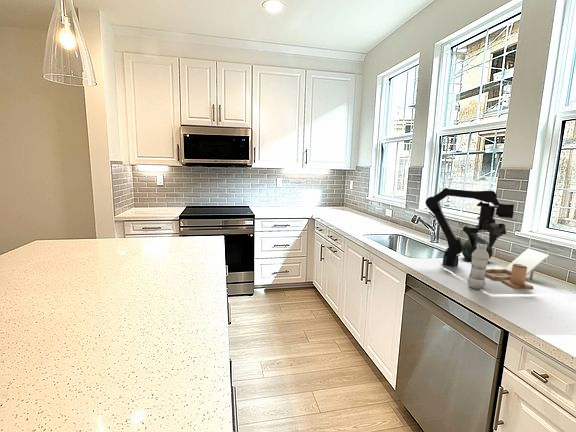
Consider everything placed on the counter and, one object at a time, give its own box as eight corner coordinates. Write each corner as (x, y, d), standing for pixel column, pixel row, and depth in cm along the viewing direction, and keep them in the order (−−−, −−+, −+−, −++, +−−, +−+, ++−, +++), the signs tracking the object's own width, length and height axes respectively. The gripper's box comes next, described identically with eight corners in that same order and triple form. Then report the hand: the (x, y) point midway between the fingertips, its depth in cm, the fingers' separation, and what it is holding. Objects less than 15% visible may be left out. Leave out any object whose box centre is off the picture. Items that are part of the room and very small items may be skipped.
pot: (516, 285, 132) (519, 267, 131) (506, 280, 137) (509, 263, 136) (527, 285, 132) (530, 267, 131) (517, 280, 138) (520, 263, 136)
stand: (513, 290, 131) (514, 286, 131) (500, 284, 138) (501, 280, 138) (532, 290, 132) (533, 286, 132) (519, 284, 139) (519, 280, 139)
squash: (503, 255, 166) (488, 231, 173) (484, 258, 161) (469, 233, 168) (482, 265, 178) (468, 242, 185) (464, 268, 172) (451, 245, 179)
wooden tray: (492, 282, 140) (493, 276, 140) (476, 273, 151) (476, 268, 151) (522, 282, 142) (523, 277, 141) (504, 273, 153) (505, 268, 152)
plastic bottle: (481, 286, 134) (488, 242, 131) (486, 292, 128) (493, 246, 125) (465, 284, 137) (471, 240, 133) (468, 289, 130) (475, 244, 127)
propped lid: (522, 282, 142) (527, 254, 140) (503, 273, 153) (508, 247, 150) (544, 282, 143) (549, 254, 141) (524, 273, 154) (528, 248, 151)
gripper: (480, 218, 140) (475, 251, 142) (517, 219, 141) (512, 252, 144) (464, 214, 151) (460, 245, 153) (499, 215, 152) (494, 245, 155)
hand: (481, 247), depth 151 cm, fingers open, 9 cm apart
